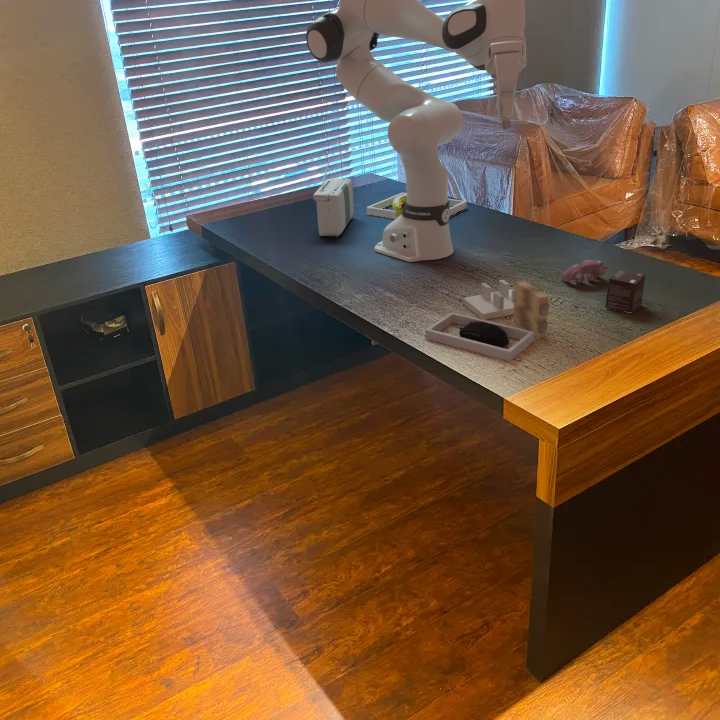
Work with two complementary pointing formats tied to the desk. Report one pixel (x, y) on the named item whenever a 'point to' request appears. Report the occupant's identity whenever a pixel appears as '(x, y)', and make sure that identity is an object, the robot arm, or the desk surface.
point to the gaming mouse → (484, 334)
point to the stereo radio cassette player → (334, 205)
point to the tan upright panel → (530, 308)
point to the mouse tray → (475, 346)
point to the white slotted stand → (492, 301)
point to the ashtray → (397, 202)
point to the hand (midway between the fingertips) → (506, 123)
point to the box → (625, 291)
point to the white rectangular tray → (379, 211)
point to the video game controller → (584, 271)
